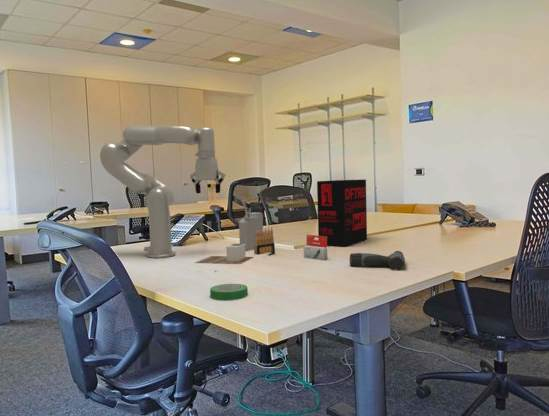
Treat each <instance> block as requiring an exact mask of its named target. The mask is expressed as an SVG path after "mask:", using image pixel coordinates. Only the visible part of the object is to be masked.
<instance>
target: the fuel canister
mask: <svg viewBox="0 0 549 416" xmlns="http://www.w3.org/2000/svg"><path fill="white" fill-rule="evenodd" d="M239 200H240V202H241V204H242V205H243V208H244V212H245V215H244V217H242V219H240V220H239V222H238V229H239V230H238V231H239V233H238V234H239V236H238V237H239V244H245V251H252V250H254V245H255V232H256V230H257V232H259V229H260V231H261V232H262V229H263V230H264V223H263V222H264V218H263V217H264V215H263V213H262V212H249V211H248V209H247V205H246V203H245V201H244V200H243V198H240V199H239Z"/></svg>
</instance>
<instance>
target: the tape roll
mask: <svg viewBox="0 0 549 416" xmlns="http://www.w3.org/2000/svg"><path fill="white" fill-rule="evenodd" d="M209 290H210V291H209V292H210V298H211V299H213V300H217V301H234V299H235V300H241V299H243V297H244V298H245V296H246V297H247V296H248V295H249V293H248V292H249V291H248V285H246V284H242V283H223V284H217V285H214V286H212V287H210V289H209Z"/></svg>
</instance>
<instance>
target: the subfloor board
mask: <svg viewBox="0 0 549 416" xmlns="http://www.w3.org/2000/svg"><path fill="white" fill-rule="evenodd" d="M253 258H255V256H245V259H243V260H241V261H239V262H227V255H226V256H225V255H223V256H222V255H210V256H208V257H206V258H202V259H200V260H198V261H195V262H194V264H213V265H214V264H219V265H243V264H244V263H246V262H248V261H250V260H252V259H253Z"/></svg>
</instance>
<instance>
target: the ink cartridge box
mask: <svg viewBox="0 0 549 416" xmlns="http://www.w3.org/2000/svg"><path fill="white" fill-rule="evenodd" d="M315 238H317V239H315ZM318 238H319V239H320V240H319V239H318ZM303 258H304V259H309V260H319V261H328V260H329V259H328V246H327V236H318V235H315V234H314V235H313V234H306V245H304V246H303Z"/></svg>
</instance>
